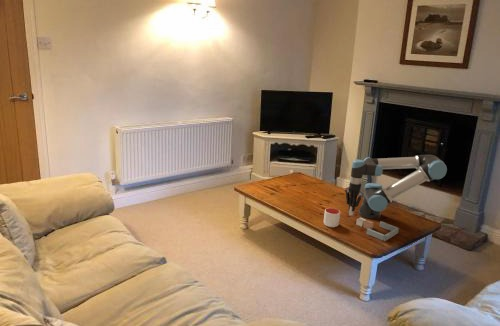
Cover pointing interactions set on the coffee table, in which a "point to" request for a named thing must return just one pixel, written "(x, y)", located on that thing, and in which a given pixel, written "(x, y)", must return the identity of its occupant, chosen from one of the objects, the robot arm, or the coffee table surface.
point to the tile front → (368, 224)
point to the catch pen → (380, 236)
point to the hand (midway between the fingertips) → (350, 214)
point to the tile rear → (360, 222)
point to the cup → (331, 217)
